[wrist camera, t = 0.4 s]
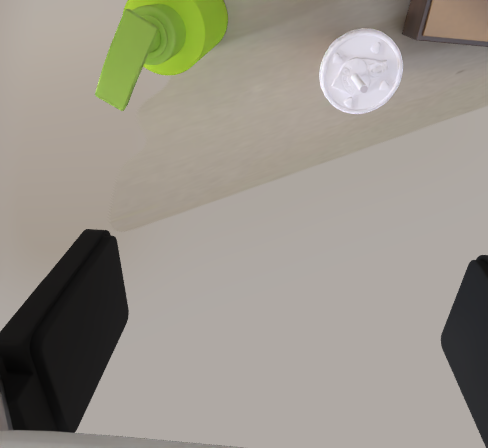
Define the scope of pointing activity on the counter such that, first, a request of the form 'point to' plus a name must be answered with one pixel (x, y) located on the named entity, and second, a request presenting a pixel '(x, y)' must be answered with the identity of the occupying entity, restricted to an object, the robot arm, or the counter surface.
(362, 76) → the smoothie
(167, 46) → the soap dispenser
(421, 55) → the counter surface
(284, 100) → the counter surface
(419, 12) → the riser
